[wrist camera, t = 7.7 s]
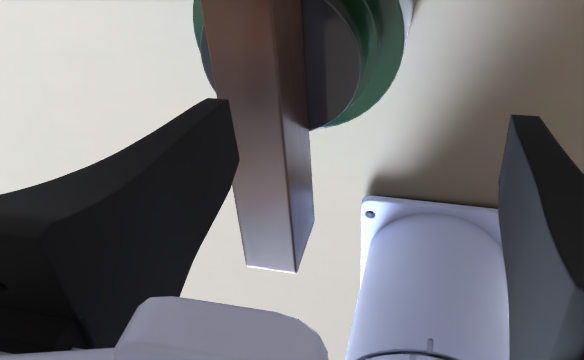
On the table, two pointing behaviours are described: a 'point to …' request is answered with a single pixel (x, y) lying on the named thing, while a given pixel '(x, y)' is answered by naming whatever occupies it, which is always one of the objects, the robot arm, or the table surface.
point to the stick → (265, 123)
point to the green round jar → (341, 54)
